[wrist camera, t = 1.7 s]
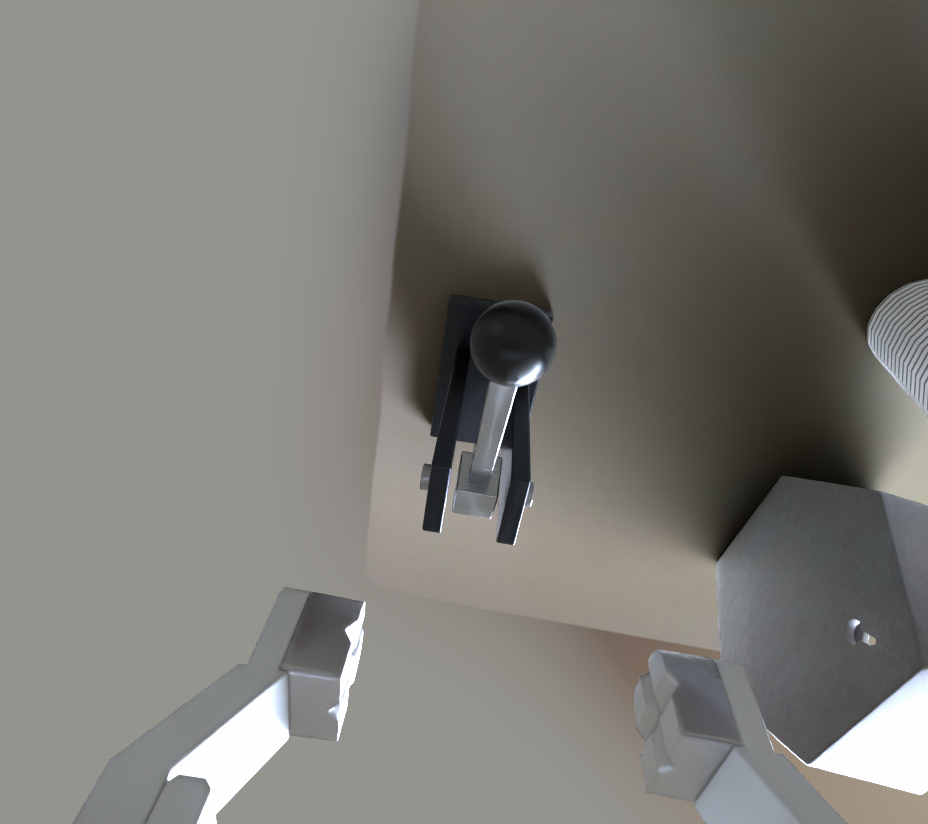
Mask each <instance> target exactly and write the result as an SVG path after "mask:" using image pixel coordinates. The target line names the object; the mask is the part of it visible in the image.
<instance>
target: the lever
mask: <svg viewBox="0 0 928 824" xmlns="http://www.w3.org/2000/svg"><path fill="white" fill-rule="evenodd" d="M556 348H557V339H556V333H555V330H554V327H553V324H552V323H551V321H550V319H549V318H548V316H547V315H546V314H545V313H544V312H543V311H542V310H541V309H539V308H538V307H536V306H534V305H533V304H530V303H528V302H525V301H520V300H508V301H503V302H500V303H497V304H495V305H493V306H491V307H490V308H488V309H487V310H486V311H485V312H483V313H482V314H481V315H480V317H479V318H478V320H477V321H476V323H475V325H474V327H473V329H472V333H471V337H470V350H471V355H472V359H473V361H474V363H475V365H476V367H477V368H478V370H479V371H480V372H481V373H482V374H483V375H484V376H485V377H486V378H487V379H488V380H489V383H488V388H487V392H486V397H485V401H484V406H483V410H482V415H481V419H480V424H479V429H478V433H477V438H476V442H475V447H474V451H473V453H471V452H465V451H463V452H462V454H461V459H460V465H459V470H458V475H457V482H456V488H455V494H454V500H453V507H452V512H454V513H460V514H466V515H472V516H478V517H484V518H491V517H492V514H493V511H494V508H495V505H496V502H497V499H498V495H499V487H500V478H501V469H502V461H503V459H502V458H501V457H497V455H498V452H499V448H500V445H501V442H502V438H503V435H504V431H505V428H506V425H507V421H508V418H509V414H510V411H511V408H512V404H513V401H514V397H515V394H516V391H517V387H520V386H525V385H528V384H530V383H532V382H534V381H536V380H538V379H539V378H540V377H541V376H543V375H544V374H545V373H546V371H547V370H548V369H549V367H550V366H551V364H552V362H553V360H554V357H555V353H556Z"/></svg>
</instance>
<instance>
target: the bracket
mask: <svg viewBox="0 0 928 824" xmlns="http://www.w3.org/2000/svg"><path fill="white" fill-rule="evenodd" d="M497 303H500V302H496V301H490V300H484V299H478V298H472V297H466V296H460V295H454V294H451V295H450V299H449V304H448V311H447V318H446V325H445V333H444V340H443V347H442V354H441V362H440V369H439V376H438V383H437V391H436V398H435V405H434V412H433V420H432V427H431V434H430V435H431V436H433V437H438V438H437V442H436V447H435V452H434V456H433V461H432V465H431V464H424V466H423V470H422V475H421V482H420V489H422V490H428V493H427V500H426V507H425V514H424V521H423V530H425V531H431V532H437V533H440V532H441V528H442V522H443V516H444V510H445V504H446V498H447V492H448V487H449V481H450V475H451V469H452V463H453V457H454V451H455V445H456V440H457V441H463V442H469V443H475V442H476V438H477V433H478V429H479V424H480V419H481V415H482V410H483V406H484V401H485V397H486V392H487V388H488V383H489V380H488V379H487V378H486V377H485V376H484V375H483V374H482V373H481V372H480V371H479V370H478V368H477V367H476V365H475V363H474V361H473V359H472V355H471V350H470V337H471V333H472V329H473V327H474V325H475V323H476V321H477V320H478V318H479V317H480V315H481V314H482V313H483V312H485V311H486V310H487V309H488V308H490V307H491V306H493V305H495V304H497ZM541 310H542V311H543V312H544V313H545V314H546V315H547V316H548V318H549V319H550V321H551V323H553V311H549V310H543V309H541ZM538 381H539V379H538V380H536V381H534V382H532V383H530V384H528V385H525V386H520V387H517V391H516V394H515V397H514V401H513V404H512V408H511V411H510V414H509V418H508V421H507V425H506V428H505V431H504V435H503V438H502V442H501V445H500V448H501V458H502V459H503V461H502V469H501V478H500V487H499V503H498V521H497V542H498V543H503V544H509V545H514V544H515V542H516V538H517V534H518V530H519V526H520V522H521V518H522V515H523V511H524V507H530V506H531V504H532V500H533V494H534V482H533V481H531V463H530V414H531V410H532V406H533V402H534V397H535V393H536V389H537V385H538Z"/></svg>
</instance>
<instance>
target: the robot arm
mask: <svg viewBox="0 0 928 824" xmlns="http://www.w3.org/2000/svg"><path fill="white" fill-rule="evenodd" d="M364 615H365V602H362V601H357V600H352V599H347V598H342V597H337V596H332V595H326V594H321V593H315V592H310V591H305V590H299V589H294V588H288V587H284V588H283V589H282V591H281V592H280V594H279V595H278V597H277V599H276V601H275V603H274V606H273V608H272V610H271V612H270V615H269V617H268V619H267V621H266V623H265V626H264V628H263V630H262V633H261V635H260V637H259V639H258V641H257V643H256V646H255V648H254V650H253V652H252V655H251V657H250V659H249V661H248V664H247V665H245V664H238V665H236V666H235V667H233V668H232V669H231V670H229V671H228V672H227V673H225V674H224V675H223V676H221V677H220V678H219V679H217V680H216V681H215V682H213V683H212V684H211V685H210V686H208V687H207V688H205V689H204V690H203V691H201V692H200V693H199V694H197V695H196V696H195V697H193V698H192V699H190V700H189V701H188V702H186V703H185V704H184V705H182V706H181V707H180V708H178V709H177V710H176V711H174V712H173V713H172V714H170V715H169V716H168V717H166V718H165V719H164V720H162V721H161V722H160V723H158V724H157V725H156V726H154V727H153V728H152V729H150V730H149V731H147V732H146V733H145V734H144V735H142V736H141V737H139V738H138V739H137V740H135V741H134V742H133V743H131V744H130V745H129V746H127V747H126V748H125V749H123V750H122V751H121V752H119V753H118V754H117V755H115V756H114V757H113V758H111V759H110V760H109V762H108V764H107V765H106V767H105V769H104V770H103V772H102V774H101V775H100V777H99V779H98V781H97V782H96V784H95V786H94V787H93V789H92V791H91V792H90V794H89V796H88V798H87V800H86V801H85V803H84V804H83V806H82V808H81V810H80V811H79V813H78V815H77V816H76V818H75V820H74V822H73V823H72V824H217V823H216V817H215V814H216V813H217V812H218V811H219V810H220V809H221V808H222V807H223V806H224V805H225V804H226V803H227V802H228V801H229V800H230V799H231V798H232V797H233V796H234V795H235V794H236V793H237V792H238V791H239V790H240V789H241V788H242V787H243V786H244V784H245V783H246V782H247V781H248V780H249V779H250V778H251V777H252V776H253V775H254V774H255V773H256V772H257V771H258V770H259V769H260V768H261V767H262V765H264V764H265V763H266V762H267V761H268V760H269V759H270V758H271V757H272V756H273V754H274V753H275V752H276V751H277V750H278V749H279V748H280V747H281V746H282V745H283V744H284V743H285V742H286V741H287V740H288V739H289V735H293V736H300V737H307V738H315V739H322V740H330V741H338V737H339V733H340V730H341V726H342V723H343V719H344V715H345V712H346V708H347V702H348V690H349V686H350V685H351V684H352V683H353V682H354V678H355V674H356V670H357V666H358V661H359V657H360V652H361V646H362V639H363V629H362V628H361V626H362V622H363V619H364ZM648 665H649V670H650V672H648V673H646V674H644V675H642V676H640V679H639V681H638V683H637V686H636V688H635V695H634V702H633V707H634V720H635V727H636V730H637V731H638V732H639V734H640V735H641V737H642V738H643V739H644V740H645V742H646V744H645V746H644V748H643V749H642V751H641V753H640V757H641V763H642V769H643V775H644V780H645V786H646V792H647V793H650V794H655V795H660V796H666V797H670V798H675V799H681V800H686V801H691V802H695V804H694V806H695V807H696V809H697V810H698V812H699V813H700V815H701V817H702V818H703V820H704V821H705V823H706V824H847V823H846V822H845V820H844V819H843V818H842V817H841V816H840V815H839V814H838V813H837V812H836V811H835V810H834V809H833V807H832V806H831V805H830V804H829V803H828V802H827V801H826V800H825V799H824V798H823V797H822V796H821V794H820V793H819V792H818V791H817V790H816V789H815V788H814V787H813V786H812V785H811V784H810V783H809V781H808V780H807V779H806V778H805V777H804V776H803V775H802V774H801V773H800V772H799V771H798V770H797V768H796V767H795V766H794V765H793V764H792V763H791V762H790V761H789V760H788V759H787V758H786V757H785V756H784V754H780V753H775V752H774V749H773V746H772V744H771V741H770V739H769V736H768V733H767V730H766V727H765V724H764V722H763V719H762V716H761V713H760V711H759V708H758V705H757V702H756V700H755V697H754V694H753V691H752V689H751V686H750V683H749V681H748V678H747V675H746V672H745V670H744V668H743V667H742V666H741V664H740V663H736V662H731V661H724V660H718V659H711V658H708V657H703V656H697V655H690V654H684V653H677V652H671V651H664V650H656V651H654V652H653V653H652V654H651V656H650V658H649V660H648Z"/></svg>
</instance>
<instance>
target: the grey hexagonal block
mask: <svg viewBox="0 0 928 824" xmlns="http://www.w3.org/2000/svg"><path fill="white" fill-rule="evenodd" d="M716 586H717V605H718V623H719V641H720V658H721V660H724V661H731V662H736V663H740V664H741V666H742V667H743V668H744V670H745V672H746V675H747V678H748V681H749V683H750V686H751V689H752V691H753V694H754V697H755V700H756V702H757V705H758V708H759V711H760V713H761V716H762V719H763V722H764V724H765V727H766V730H767V731H769V732H770V733H771V734H772V735H773V736H774V737H775V738H776V739H777V740H779V741H780V742H781V743H782V744H783V745H784V746H785V747H787V748H788V749H789V750H790V751H791V752H792V753H793V754H794V755H796V756H797V757H798V758H799V759H800V760H801V761H802V762H803V763H805V764H806V765H808V766H812V767H816V768H820V769H824V770H828V771H831V772H835V773H839V774H843V775H847V776H851V777H854V778H858V779H862V780H866V781H870V782H874V783H878V784H881V785H885V786H889V787H893V788H897V789H901V790H905V791H909V792H912V793H916V794H923V793H925V792H926V791H928V506H927V505H924V504H921V503H917V502H914V501H911V500H907V499H904V498H901V497H898V496H894V495H891V494H888V493H884V492H881V491H876V490H870V489H864V488H858V487H852V486H845V485H839V484H833V483H827V482H821V481H814V480H808V479H802V478H796V477H789V476H781V477H780V479H779V480H778V481H777V483H776V484H775V485H774V487H773V488H772V489H771V491H770V492H769V493H768V495H767V496H766V497H765V499H764V500H763V501H762V503H761V504H760V505H759V507H758V508H757V509H756V511H755V512H754V513H753V515H752V516H751V517H750V519H749V520H748V521H747V523H746V524H745V525H744V527H743V528H742V529H741V531H740V532H739V533H738V535H737V536H736V537H735V539H734V540H733V541H732V543H731V544H730V545H729V547H728V548H727V549H726V551H725V552H724V553H723V555H722V556H721V557H720V559H719V560H718V562H717V564H716ZM870 635H871V636H873V637H874V638H875V639H876V644H875V645H872V644H870V643H868V640H869V636H870Z"/></svg>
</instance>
